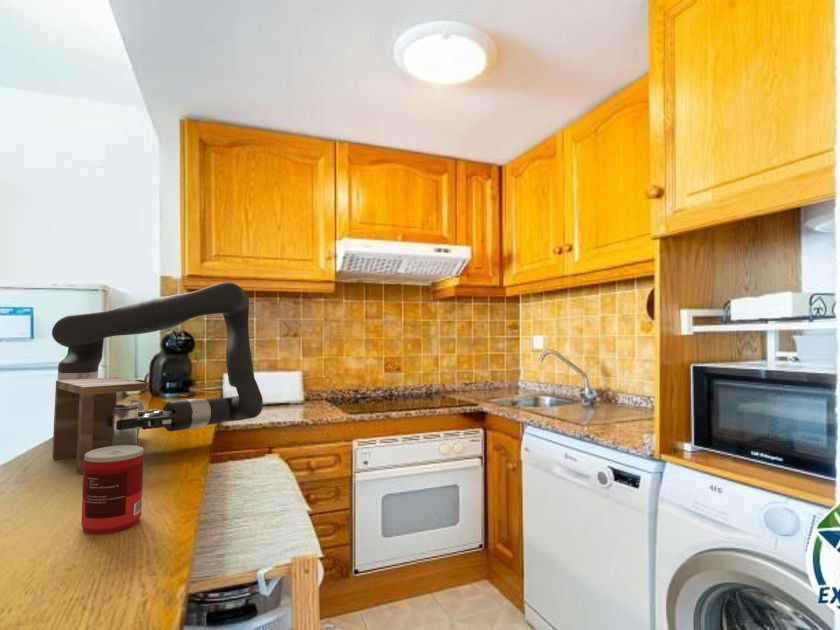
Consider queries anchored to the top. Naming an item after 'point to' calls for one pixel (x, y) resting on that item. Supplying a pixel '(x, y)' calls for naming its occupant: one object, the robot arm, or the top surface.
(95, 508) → the canned food
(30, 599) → the top surface
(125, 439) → the steel tin
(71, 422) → the walnut shelf
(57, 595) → the top surface
